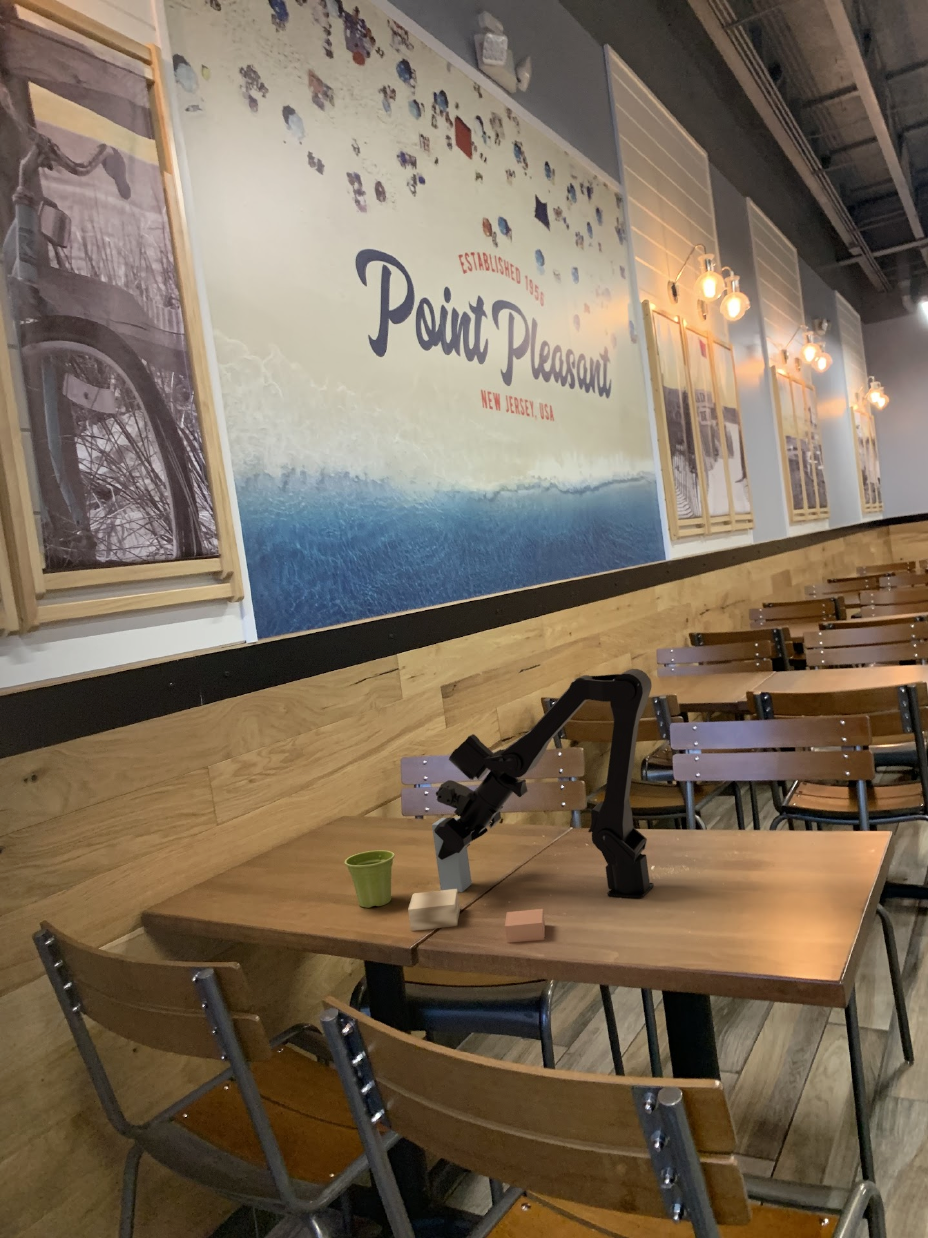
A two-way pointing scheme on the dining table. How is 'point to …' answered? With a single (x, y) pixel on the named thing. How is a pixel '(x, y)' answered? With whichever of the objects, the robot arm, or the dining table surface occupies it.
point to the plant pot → (371, 876)
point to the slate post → (452, 866)
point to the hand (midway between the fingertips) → (445, 854)
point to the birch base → (434, 909)
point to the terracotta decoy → (525, 925)
